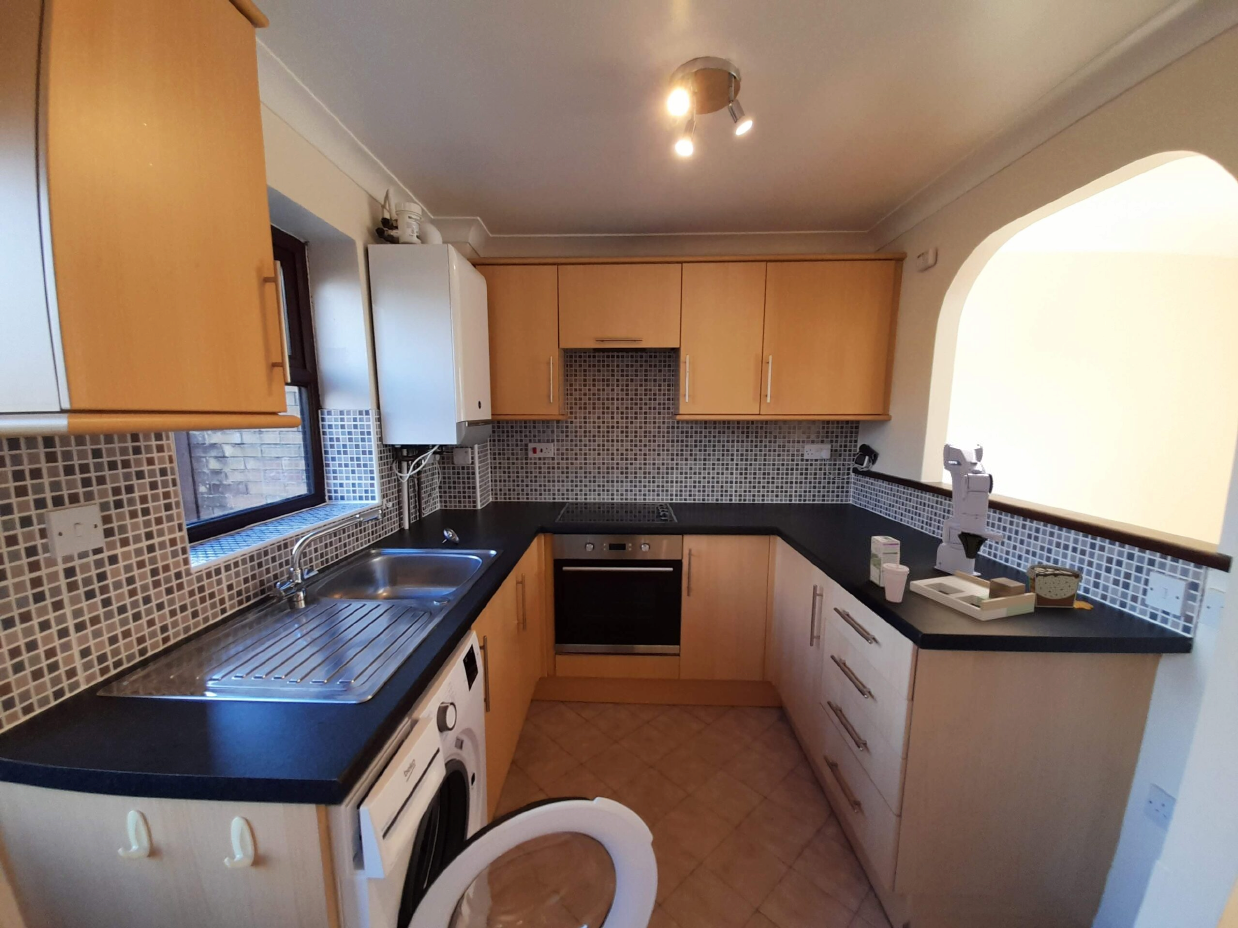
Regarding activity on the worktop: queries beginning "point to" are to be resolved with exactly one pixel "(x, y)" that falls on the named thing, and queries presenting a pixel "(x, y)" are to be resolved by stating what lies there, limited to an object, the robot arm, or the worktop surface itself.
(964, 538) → the robot arm
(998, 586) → the walnut block
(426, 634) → the worktop surface
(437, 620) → the worktop surface
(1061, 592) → the food container
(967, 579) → the trap deck
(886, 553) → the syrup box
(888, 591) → the smoothie
